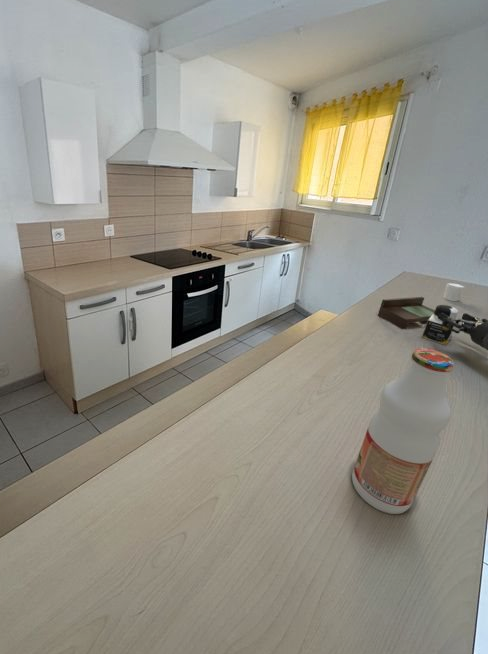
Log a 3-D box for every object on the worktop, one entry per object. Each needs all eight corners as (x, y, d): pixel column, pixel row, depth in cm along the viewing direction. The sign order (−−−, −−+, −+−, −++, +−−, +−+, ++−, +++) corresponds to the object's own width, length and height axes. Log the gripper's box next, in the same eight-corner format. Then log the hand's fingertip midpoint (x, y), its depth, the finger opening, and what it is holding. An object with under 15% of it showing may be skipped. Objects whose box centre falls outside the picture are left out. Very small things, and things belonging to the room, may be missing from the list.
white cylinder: (444, 295, 156) (449, 281, 154) (461, 299, 152) (467, 285, 149) (439, 298, 152) (445, 284, 149) (457, 302, 147) (463, 288, 145)
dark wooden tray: (416, 312, 135) (421, 296, 132) (443, 325, 124) (450, 308, 121) (377, 315, 130) (382, 299, 127) (402, 329, 119) (408, 312, 116)
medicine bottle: (421, 337, 113) (433, 306, 109) (425, 331, 118) (437, 301, 113) (445, 345, 109) (459, 313, 104) (449, 338, 114) (462, 307, 109)
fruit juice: (369, 517, 53) (426, 375, 42) (341, 467, 61) (382, 339, 50) (423, 515, 53) (494, 375, 42) (388, 467, 62) (439, 340, 51)
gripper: (525, 328, 92) (475, 305, 107) (479, 327, 91) (435, 304, 106) (513, 351, 95) (466, 325, 109) (468, 350, 94) (427, 325, 108)
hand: (451, 315), depth 107 cm, fingers open, 8 cm apart
